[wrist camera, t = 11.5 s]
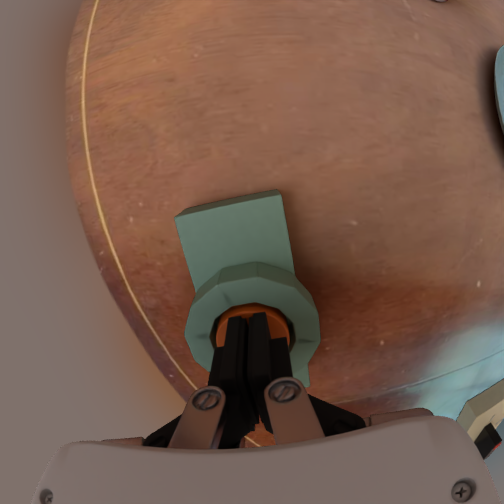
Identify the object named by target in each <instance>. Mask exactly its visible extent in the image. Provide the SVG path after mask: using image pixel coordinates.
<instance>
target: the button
mask: <svg viewBox="0 0 504 504" xmlns="http://www.w3.org/2000/svg"><path fill="white" fill-rule="evenodd" d="M260 312H266V316H267V321H268V325H269V330H270V335H271V339H275V338H281V337H287V342H288V346H289V341H290V337H289V330H288V325H287V319H286V316H285V315H284V314H283V313H282V312H281V311H280V310H279V309H278V308H274V307H271V306H267V305H264V304H260V303H257V302H253V303H247V304H242V305H236V306H231V307H230V308H229V309H227V310H226V311H225V312H224V313H222V314H221V315H220V319H219V324H218V329H217V334H216V343H217V347H221V346H224V342H225V336H226V329H227V323H228V318H229V317H235V316H241V317H242V319H243V318H246V320H247V324H248V327H249V317H253V314H254V313H260Z"/></svg>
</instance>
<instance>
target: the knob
mask: <svg viewBox="0 0 504 504" xmlns="http://www.w3.org/2000/svg"><path fill="white" fill-rule="evenodd" d="M501 441H502V439H501V438H500V436H499V434H498V433H497V431H496V429H495V428H494V426H493V425H492V423H489V424H488V425H486V426H485V427H484V428H483V430H482V431H481V433H480V434H479V436H478V437H477V438H476V440H475V441H474V444H475V445H476V447H477V448H478V450H479V452H480V454H481V456H482V458H483V460H484V459H486V458H487V457H489V456H490V454H491V453H492V452H493V451H494V450H495V449H496V448H497V447H498V446H499V445H500V444H501Z"/></svg>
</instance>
